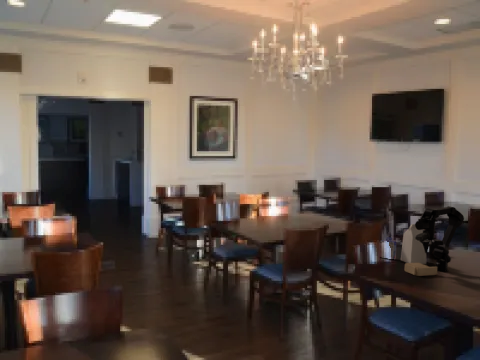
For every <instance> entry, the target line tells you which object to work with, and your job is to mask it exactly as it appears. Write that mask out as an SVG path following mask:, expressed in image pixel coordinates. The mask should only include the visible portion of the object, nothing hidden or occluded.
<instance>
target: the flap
mask: <svg viewBox="0 0 480 360" xmlns="http://www.w3.org/2000/svg"><path fill="white" fill-rule="evenodd" d="M435 275H436V276H437V275H438V270H437V267H436V266H429V267H422V268H417V275H415V277H422V276H424V277H425V276H435Z"/></svg>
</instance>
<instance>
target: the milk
mask: <svg viewBox="0 0 480 360" xmlns="http://www.w3.org/2000/svg"><path fill="white" fill-rule="evenodd" d="M407 229H408V230H407V231H406V232H405V233H404V232H403V234H404V235H402V236H403V237H402V244H401V245H402V247H401V253H400V261H402V262H404V263H405V264H406V263H421V264H423V265H427V253H425V250H424V247H423V244H422V243H421V242H420V241H417V240H416V239H415V236H416V235H418V234H420V233H423V230H417V229H416V227H415V223H411V225H410V226H409V227H408V228H407Z"/></svg>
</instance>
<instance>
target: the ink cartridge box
mask: <svg viewBox="0 0 480 360" xmlns="http://www.w3.org/2000/svg"><path fill="white" fill-rule="evenodd" d="M392 239H393V238H392V237H386V239H385V240H384V239H382V240H380V242H384V241H387V242H389V246H390V248H391V257H392V259H394V258H395V259H396V254H397V241H394V240H392ZM395 259H394V260H395Z"/></svg>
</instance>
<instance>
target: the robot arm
mask: <svg viewBox="0 0 480 360" xmlns="http://www.w3.org/2000/svg"><path fill="white" fill-rule="evenodd" d="M443 215H444V216H445V215H446V216H447V218H448V220H447V221H448V226H447V228H446V230H445V233H444V234H443V238H442V239H437V238H436V237H435V234H436V233H437V231H436V222H439V220H438V219H437V218H440V216H443ZM464 220H465V216H464V215H463V214H462V213H461V212H460V211H459V210H458V209H456V207H455V206H445V207H439V208H425V209H424V211H423V213H422V214H421V217H420V218H418V219H417V221H415V223H414V224H415V227H416V229H417V230H423V233H420V234H418V235H416V236H415V239H416V240H417V241H420V242H421V243H422V244H423V247H424V250H425V253H426V254H429V255H432V254H433V259H434V260H435V261H436V262H435V267H437V272H450V270H449V269H448V265H449V263H451V261H452V258H451V256H450V255H449V254H450V251H449V250H450V249H449V247H450V245H451V242H452V240H453V238H454V235H455V233H456V230H457V229H458V227H460V226H461V225H462V224H463V222H464ZM428 252H429V253H428Z"/></svg>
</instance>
